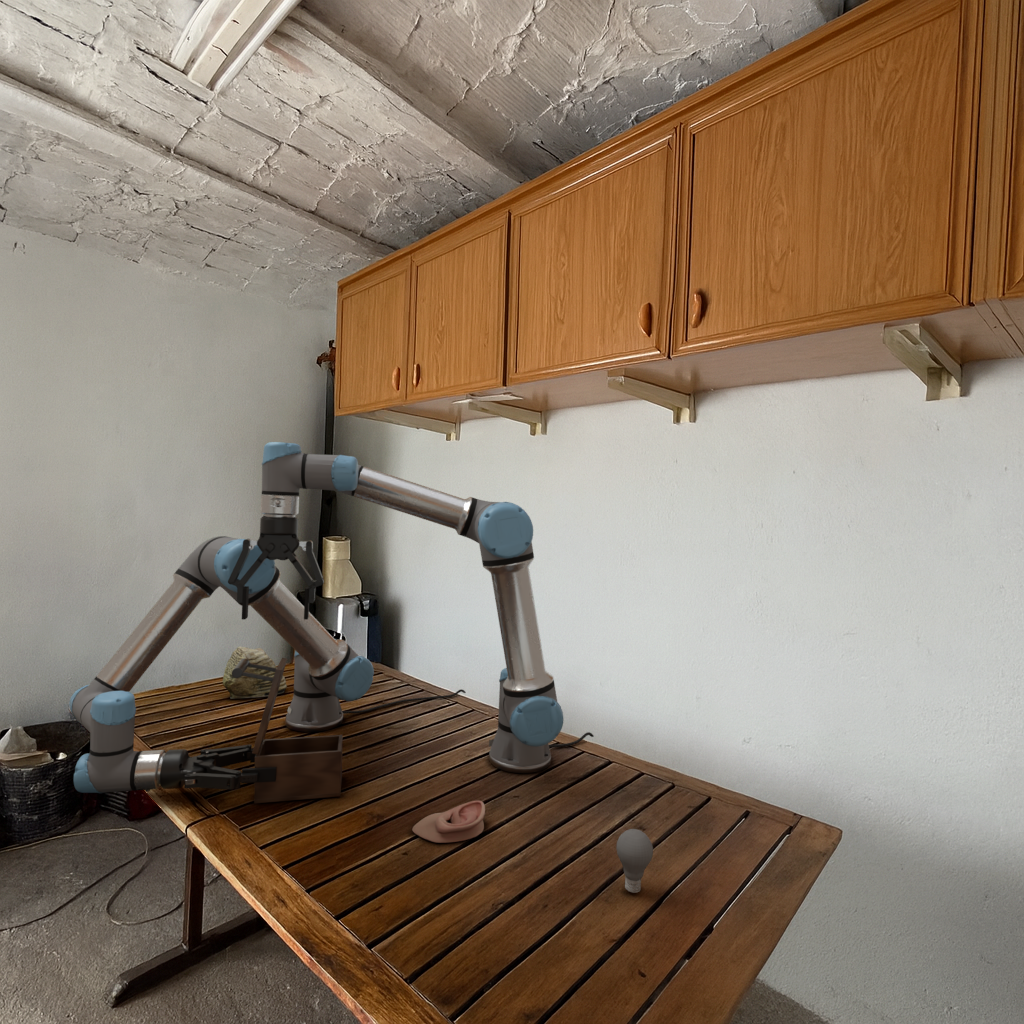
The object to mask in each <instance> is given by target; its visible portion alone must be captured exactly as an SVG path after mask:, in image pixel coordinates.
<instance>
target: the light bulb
mask: <svg viewBox="0 0 1024 1024" xmlns="http://www.w3.org/2000/svg"><path fill="white" fill-rule="evenodd" d="M615 849H616V854H617V857H618V859H619V861H620V863H621V865H622V867H623V873H624V874H623V875H624V876H625V878H624V888H625V890H627V891H628V892H630V893H634V894H635V893H639V892H640V891H641V889H642V887H641V886H642V879H643V877H644V875H645V871H646V868H647V867H648V866H649V864H650V863H651V861H652V859H653V855H654V847H653V843H652V841H651V838H649V836H648V835H647V834H646V833H645V832H643V831H642V830H641V829H636V828H629V829H627V830H625V831H623V832H622V833H621V834H620V835H619V837H618V839H617V841H616V847H615Z"/></svg>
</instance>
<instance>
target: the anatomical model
mask: <svg viewBox="0 0 1024 1024" xmlns="http://www.w3.org/2000/svg"><path fill="white" fill-rule="evenodd" d="M485 816H486V806H485V803H484V802H483V801H482V800H472V801H468V802H466V803H462V804H459V805H457V806H454V807H452V808H450V809H448V810H446V811H442V812H436V813H432V814H429V815H427V816H425V817H424V818H421V820H419V821H418V822H417V823H416V824H414V825H413V826H412V829H411V831H412V832H413V834H415V835H416V836H418V837H420V838H421V839H424V840H426V841H429V842H432V843H436V844H437V843H438V844H446V843H455V842H462V841H466V840H470V839H473V838H476V837H478V836H479V835H480V834H482V833H483V831H484V829H485V823H484V818H485Z"/></svg>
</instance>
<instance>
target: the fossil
mask: <svg viewBox="0 0 1024 1024" xmlns="http://www.w3.org/2000/svg"><path fill="white" fill-rule="evenodd" d="M243 658H246V659H248V660H249V662H250V663H253V664H258V665H263V666H268V667H272V668H277V665H276V663H275V662H274V660H273V659H272V658H271V657H270V656H269V655H268V654H267V653H266V652H265V650H264V649H263V648H260V647H258V648H251V647H247V646H246V647H245V646H238V647H237V648H236V649H235V650H233V651H232V653H231V656H230V657H229V659H228V660H227V663H226V666H225V668H224V671H223V675H222V676H223V677H222V685H223V687H224V688H225V690H226V691H228V693H229V698H230V699H250V698H264V697H268V696H269V692H270V689H271V685H272V682H271V681H266V680H261V679H256V678H251V677H246V676H241V677H240V678H234V677H233V676H232V671H233V669H234V668H235V667H236V666H237V664H238V663H239V662H240V660H241V659H243ZM245 672H248V673H253V674H258V675H263V676H268V677H273V678H274V675H275V672H272V671H267V670H262V669H258V668H253V667H247V669H246V670H245ZM287 687H288V686H287V680H286V678H285V676H284V675H283V676H282V679H281V683H280V686H279V690H278V693H277V695H281V694H284V693H285V691H286V689H287Z"/></svg>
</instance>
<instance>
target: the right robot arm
mask: <svg viewBox="0 0 1024 1024" xmlns="http://www.w3.org/2000/svg"><path fill="white" fill-rule="evenodd" d="M262 453H263V454H262V462H261V496H260V497H261V498H260V513H261V514H262V515H263V516H261V517H260V522H259V537H258V539H251V538H244V539H245V540H244V541H243V549H242V552H241V554H240V556H239V558H238V561H237V563H236V565H235V567H234V569H233V571H232V573H231V575H230V578H229V580H228V583H229V584H232V585H234V586H236V587H237V602H238V603H242V606H241V620H247V619H248V617H249V606H248V599H249V586H245V584H246V583H247V582H248V580H249V579H250V578H251V577H252V575H253V574H254V573H255V572H256V571H257V569H258V568H259V567H260V566H261V564H262V563H263V562H264V561H265V560H266V558H267V559H269V560H274V561H275V560H276V561H277V560H280V561H287V560H288V561H289V562H290V563H291V564H292V566H293V567H294V568H295V569H296V571H297V573H298V574H299V575H300V576H301V578H302V579H303V581H304V582H305V584H306V585H307V586H306V587H305V588H304V605H303V606H304V619H308V617H309V612H310V604H314V602H315V600H316V588H317V587H321V586H323V585H324V584H325V579H324V576H323V573H322V571H321V569H320V566H319V563H318V561H317V558H316V556H315V552H314V542H313V541H312V540H311V539H309V540H300V539H299V535H298V534H299V531H298V530H299V519H298V517H296V516H297V515H299V512H300V511H299V508H300V489H303V490H320V491H321V490H323V491H335V492H337V493H341V494H344V495H347V496H350V497H354V498H358V499H360V500H364V501H367V502H370V503H373V504H376V505H379V506H382V507H385V508H388V509H391V510H393V511H397V512H400V513H402V514H403V513H404V514H407V515H410V516H413V517H415V518H418V519H422V520H425V521H429V522H432V523H434V524H438V525H440V526H444V527H447V528H451V529H454V530H455V531H456V533H457V535H459V536H462V537H464V538H468V539H470V540H471V541H474V542H476V543H477V544H479V551H480V557H481V564H482V567H483V568H484V569H485V570H487V571H488V572H489V573H490V575H491V576H490V577H491V582H492V587H493V594H494V599H495V605H496V606H495V607H496V612H497V618H498V625H499V630H500V631H499V632H500V636H501V642H502V643H501V644H502V649H503V654H504V661H505V667H504V668H503V669H501V670H500V674H499V675H500V676H499V679H498V682H499V691H498V692H499V696H498V714H497V715H498V718H497V730H496V732H495V735H494V738H493V739H489V740H488V747H490V748H489V751H488V752H489V753H488V761H489V763H490V764H491V765H492V766H493V767H495V768H496V769H498V770H501V771H503V772H509V773H514V774H531V773H538V772H541V771H544V770H546V769H547V768H549V766H550V765H551V763H552V754H551V749H550V748H566V747H571V746H574V745H577V744H579V743H580V742H582V741H583V740H585V738H586V737H587V736H590V737H591V738H594V736H595V735H594V734H593V733H592V732H589V731H587V732H585V733H583V734H582V736H580V737H579V738H578V739H577V740H574V741H571V742H566V743H558V744H556V743H555V744H551V742H553V741H554V740H555V739H556V738H557V737H558V736H559V734H560V733H561V731H562V729H563V726H564V719H565V718H564V712H563V709H562V706H561V705H560V703H559V702H558V698H557V691H556V684H555V678H554V675H553V674H551V673H550V672H548V671H547V670H546V665H545V659H544V652H543V647H542V641H541V633H540V628H539V622H538V616H537V610H536V603H535V596H534V591H533V584H532V579H531V571H530V565H531V564H532V563H533V561H534V560H535V554H534V549H533V538H534V537H533V536H534V526H533V521H532V519H531V517H530V516H529V514H528V513H527V511H525V509H524V508H522V507H521V506H520V505H518V504H516V503H514V502H510V501H490V500H489V501H488V500H482V499H479V498H475V497H473V496H469V497H467V498H462V497H459V496H456V495H453V494H450V493H447V492H445V491H444V492H443V491H441V490H438V489H435V488H431V487H428V486H425V485H422V484H419V483H416V482H414V481H410V480H407V479H404V478H400V477H398V476H395V475H392V474H389V473H386V472H382V471H379V470H376V469H374V468H370V467H368V466H363V465H361V464H359V460H358V459H357V457H355V456H354V455H353V456H351V455H346V454H345V455H344V454H319V453H318V454H316V453H305V452H303V450H302V446H301V445H300V444H298V443H293V442H283V441H269V442H267V443H265V444H264V446H263V452H262ZM255 545H257V546H258V547H259V549H260V550H261V551H262V554H261V555H260V556H259V557H258V559H257V560H256V561H255V563H254V564H253V565H252V566H251V567H250V569H249V570H248V571H247V572H246V574H245V575H244V576H243V577H242V578H241V580H239V579H237V578H238V576H239V574H240V572H241V570H242V568H243V566H244V563H245V561H246V559H247V557H248V555H249V553H250V550H252V549H254V547H255ZM299 547H301V549H302V551H303V552H305V553H306V557H307V560H308V562H309V564H310V567H311V570H312V573H313V576H314V578H315V580H314V579H313V578H312V577H311V575H310V573H309V572H308V570H307V569H306V567H305V566H304V565H303V564H302V563H303V562H301V561H300V559H299V557H298V555H297V554H296V553H295V552H296V551H297V550H298V548H299ZM237 602H236V603H237ZM238 603H237V604H238Z"/></svg>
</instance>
